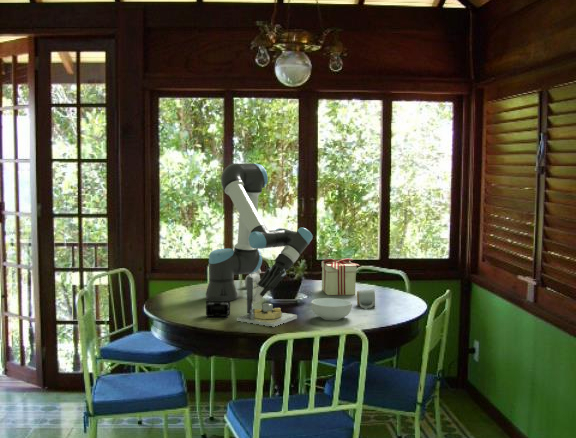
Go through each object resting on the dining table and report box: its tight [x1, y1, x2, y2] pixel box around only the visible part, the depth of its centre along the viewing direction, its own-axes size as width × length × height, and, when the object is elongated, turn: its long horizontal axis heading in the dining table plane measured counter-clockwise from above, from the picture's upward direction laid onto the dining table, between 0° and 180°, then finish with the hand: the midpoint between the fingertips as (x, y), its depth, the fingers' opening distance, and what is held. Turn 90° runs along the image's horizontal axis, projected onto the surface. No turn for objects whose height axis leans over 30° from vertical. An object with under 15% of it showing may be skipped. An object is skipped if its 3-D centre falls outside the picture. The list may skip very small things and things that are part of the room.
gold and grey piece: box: [246, 277, 283, 319], centre depth 279 cm, size 16×11×15 cm
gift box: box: [321, 258, 361, 296], centre depth 337 cm, size 17×18×17 cm
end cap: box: [205, 300, 231, 319], centre depth 284 cm, size 10×7×7 cm
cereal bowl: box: [310, 297, 353, 321], centre depth 282 cm, size 17×17×7 cm
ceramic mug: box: [356, 288, 376, 310], centre depth 305 cm, size 11×8×8 cm
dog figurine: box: [244, 267, 262, 290], centre depth 353 cm, size 5×13×11 cm, turn 157°
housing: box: [236, 302, 298, 328], centre depth 278 cm, size 18×18×6 cm
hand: (254, 300), depth 284 cm, fingers closed on gold and grey piece
